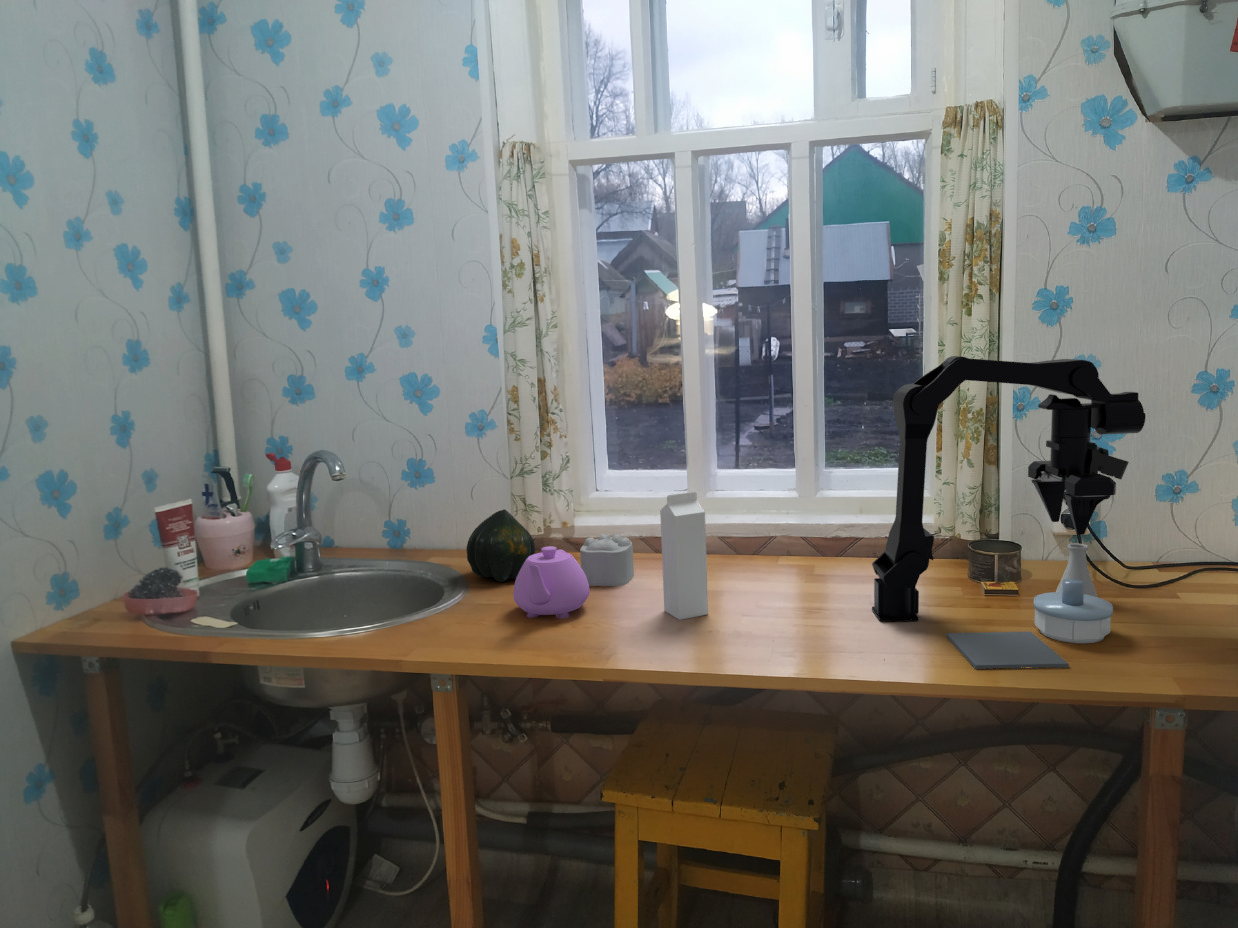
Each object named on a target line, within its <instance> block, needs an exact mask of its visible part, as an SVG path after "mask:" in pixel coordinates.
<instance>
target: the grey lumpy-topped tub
mask: <svg viewBox="0 0 1238 928" xmlns="http://www.w3.org/2000/svg"><path fill="white" fill-rule="evenodd" d="M633 545H634V544H633V542H632V541H631V540H630V539H629V538H628V537H622V535H621V534H619V533H615V534H613V536H610V535H608V534H607V533H602V534H601V535H599V537H598V538H594V537H589V536H588V537H587V538H585V540H584V542H583V545H582V546H581V547H580V549H579V554H580V555H579V556H580V567H581V568H582V570H583V571H584V573H585V575H586V577H587V580H588V584H589V587H595V586H596V587H597V586H600V587H601V586H602V587H603V586H604V587H620V586H625V585H627V584H629V583H630V582H631V581H632V580H633V578H634V576H635V573H634V572H635V570H634V548H633Z"/></svg>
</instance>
